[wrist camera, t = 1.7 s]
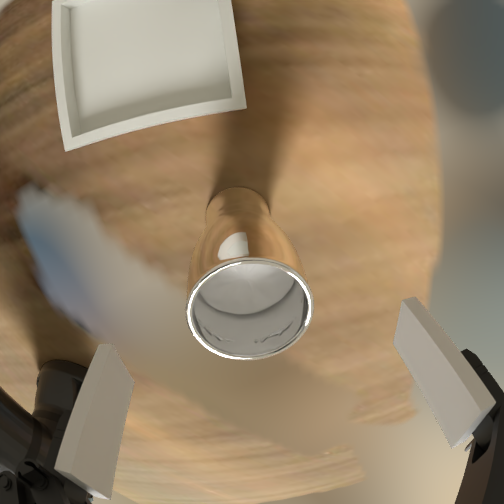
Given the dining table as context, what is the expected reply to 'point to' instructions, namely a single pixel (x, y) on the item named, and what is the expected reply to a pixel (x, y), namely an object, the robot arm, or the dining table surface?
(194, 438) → the dining table surface
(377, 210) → the dining table surface
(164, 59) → the tray
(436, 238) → the dining table surface
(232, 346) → the beer glass
